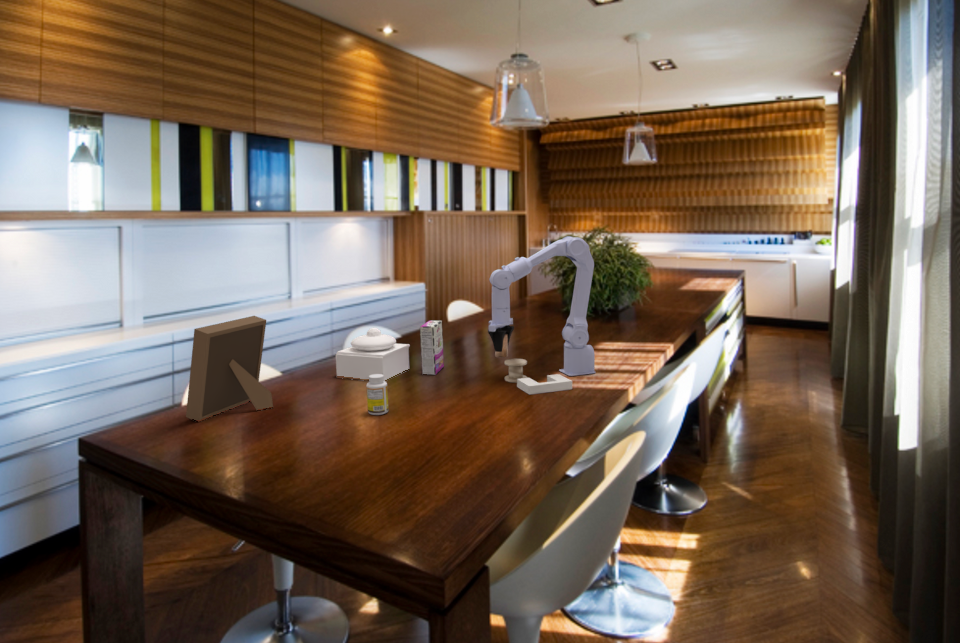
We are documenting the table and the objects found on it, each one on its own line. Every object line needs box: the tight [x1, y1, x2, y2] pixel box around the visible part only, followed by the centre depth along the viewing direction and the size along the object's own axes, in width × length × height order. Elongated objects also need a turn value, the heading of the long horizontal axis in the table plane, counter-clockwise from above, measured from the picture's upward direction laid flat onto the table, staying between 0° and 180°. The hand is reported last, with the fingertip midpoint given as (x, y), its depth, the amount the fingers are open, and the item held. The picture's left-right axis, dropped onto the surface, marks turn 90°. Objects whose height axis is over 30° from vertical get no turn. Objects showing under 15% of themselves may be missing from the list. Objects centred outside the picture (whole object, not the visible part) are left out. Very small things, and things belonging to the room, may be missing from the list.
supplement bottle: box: [365, 374, 390, 416], centre depth 174 cm, size 6×6×10 cm
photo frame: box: [185, 315, 274, 421], centre depth 176 cm, size 15×22×25 cm
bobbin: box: [504, 358, 528, 384], centre depth 205 cm, size 7×7×6 cm
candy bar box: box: [419, 320, 445, 376], centre depth 217 cm, size 11×5×16 cm, turn 168°
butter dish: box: [335, 327, 411, 382], centre depth 216 cm, size 18×18×16 cm
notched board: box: [516, 373, 573, 395], centre depth 195 cm, size 14×9×2 cm, turn 110°
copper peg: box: [494, 334, 509, 358], centre depth 207 cm, size 4×4×7 cm
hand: (501, 350), depth 207 cm, fingers closed on copper peg, 4 cm apart
